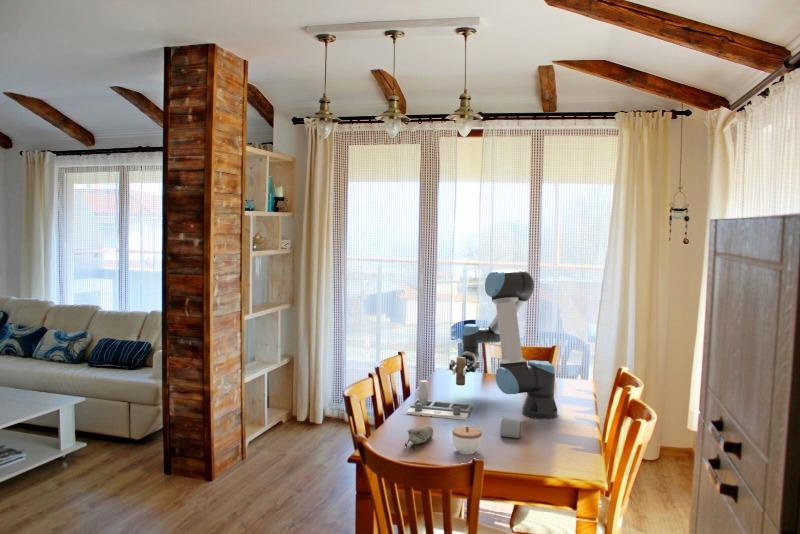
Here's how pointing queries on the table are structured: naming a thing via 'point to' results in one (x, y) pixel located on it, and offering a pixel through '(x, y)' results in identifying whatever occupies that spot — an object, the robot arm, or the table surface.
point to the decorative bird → (419, 435)
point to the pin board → (431, 404)
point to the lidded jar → (467, 439)
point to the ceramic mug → (511, 427)
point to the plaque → (438, 412)
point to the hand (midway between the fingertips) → (458, 371)
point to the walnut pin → (460, 370)
